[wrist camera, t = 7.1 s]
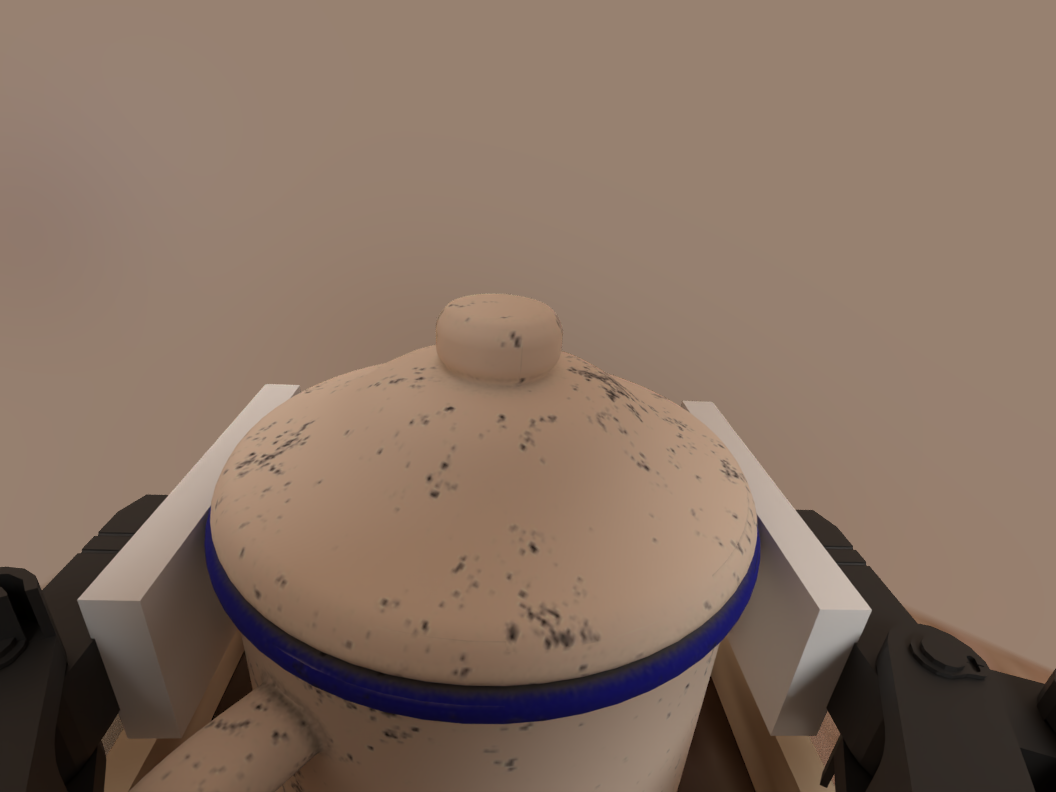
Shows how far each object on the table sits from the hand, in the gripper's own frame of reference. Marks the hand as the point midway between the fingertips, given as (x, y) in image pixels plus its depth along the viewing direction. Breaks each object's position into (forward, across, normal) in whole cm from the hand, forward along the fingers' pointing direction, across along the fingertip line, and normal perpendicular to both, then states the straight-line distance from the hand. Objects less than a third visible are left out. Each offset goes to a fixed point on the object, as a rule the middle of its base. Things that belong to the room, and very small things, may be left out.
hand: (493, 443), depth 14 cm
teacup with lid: (-5, -1, -7) cm, 9 cm away
